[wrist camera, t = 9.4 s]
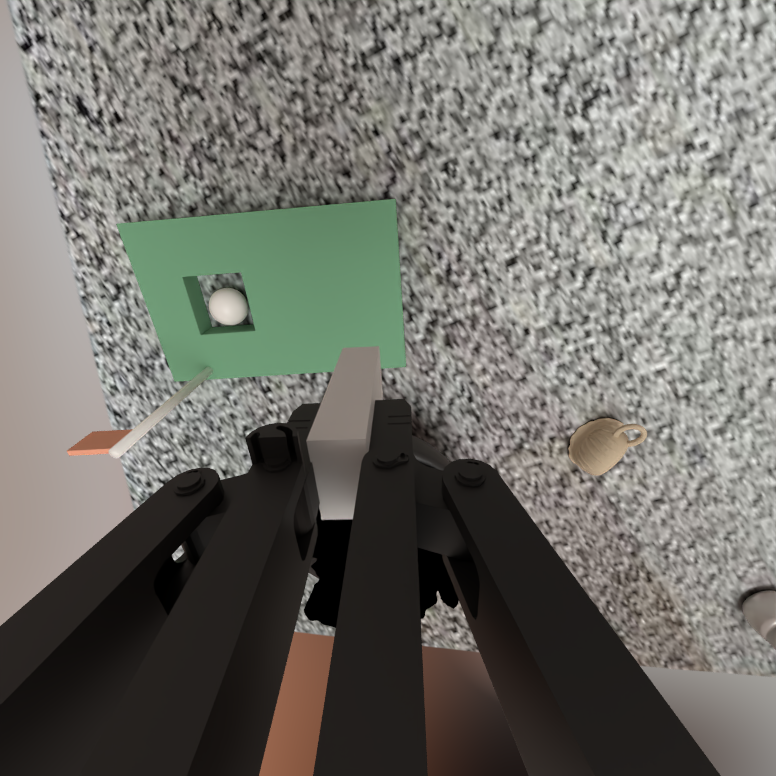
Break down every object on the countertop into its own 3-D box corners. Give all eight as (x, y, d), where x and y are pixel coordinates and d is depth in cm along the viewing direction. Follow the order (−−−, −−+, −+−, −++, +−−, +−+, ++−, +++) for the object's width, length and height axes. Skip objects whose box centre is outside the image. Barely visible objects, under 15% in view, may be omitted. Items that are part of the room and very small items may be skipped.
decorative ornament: (555, 450, 44) (574, 480, 39) (608, 397, 41) (636, 423, 36) (580, 464, 45) (602, 495, 40) (634, 414, 42) (665, 442, 37)
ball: (233, 281, 37) (197, 289, 34) (250, 287, 34) (213, 296, 32) (241, 315, 38) (208, 324, 36) (258, 323, 36) (224, 333, 34)
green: (134, 222, 34) (-70, 236, 19) (395, 199, 32) (393, 194, 18) (187, 371, 40) (65, 467, 26) (405, 357, 39) (409, 450, 24)
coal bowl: (297, 515, 50) (245, 674, 33) (301, 382, 41) (232, 507, 24) (443, 531, 50) (466, 696, 33) (478, 405, 41) (533, 542, 25)
